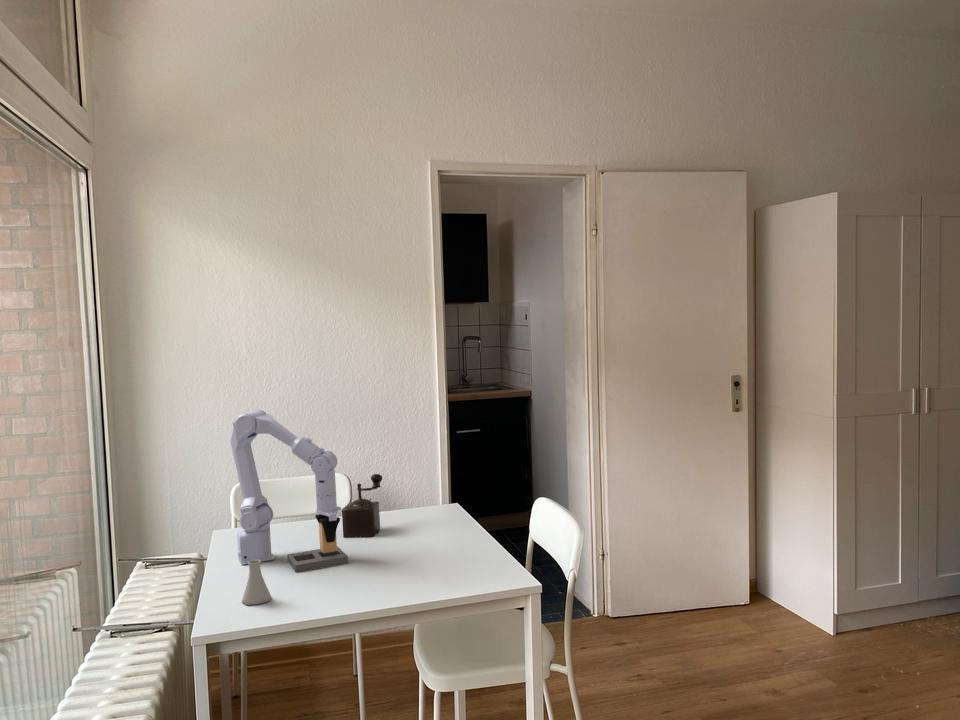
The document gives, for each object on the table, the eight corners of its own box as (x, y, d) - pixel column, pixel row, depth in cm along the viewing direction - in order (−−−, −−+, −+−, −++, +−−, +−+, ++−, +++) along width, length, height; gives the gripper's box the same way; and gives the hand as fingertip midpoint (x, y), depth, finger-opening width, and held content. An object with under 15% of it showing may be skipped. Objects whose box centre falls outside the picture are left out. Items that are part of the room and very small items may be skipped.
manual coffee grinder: (376, 537, 242) (373, 482, 242) (342, 538, 243) (339, 482, 243) (386, 524, 258) (383, 472, 257) (354, 525, 259) (351, 473, 258)
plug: (323, 553, 218) (321, 523, 217) (320, 549, 221) (318, 520, 221) (337, 550, 219) (335, 521, 219) (333, 547, 223) (332, 518, 222)
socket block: (295, 572, 210) (295, 564, 210) (287, 561, 221) (286, 553, 221) (348, 563, 217) (347, 555, 216) (337, 552, 227) (337, 545, 227)
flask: (243, 608, 185) (240, 567, 184) (240, 598, 191) (237, 559, 191) (273, 602, 188) (271, 562, 187) (269, 593, 194) (267, 555, 194)
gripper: (346, 496, 215) (348, 543, 215) (333, 487, 228) (336, 532, 228) (321, 500, 212) (324, 547, 212) (310, 491, 225) (312, 535, 225)
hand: (328, 540), depth 220 cm, fingers closed on plug, 4 cm apart
